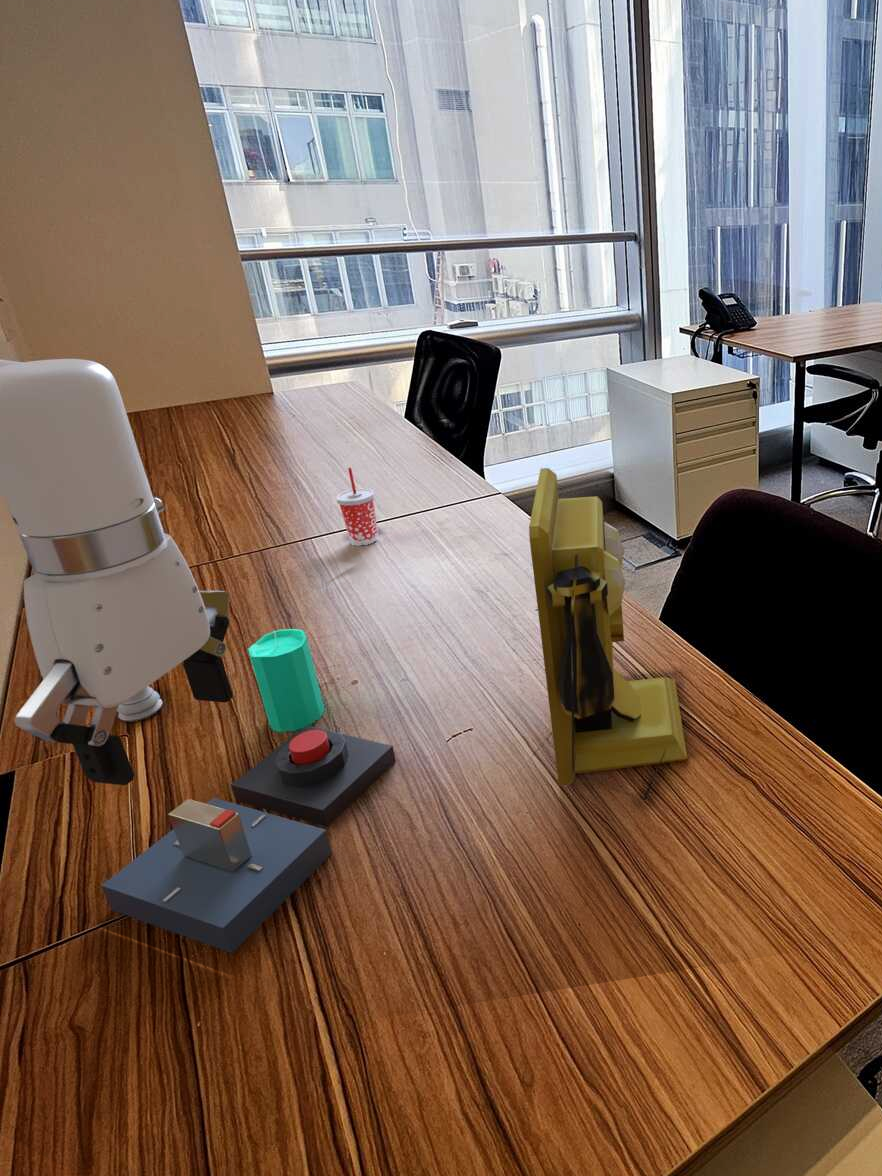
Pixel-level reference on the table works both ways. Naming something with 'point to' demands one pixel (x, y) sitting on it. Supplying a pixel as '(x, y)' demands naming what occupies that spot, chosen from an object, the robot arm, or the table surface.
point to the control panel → (219, 880)
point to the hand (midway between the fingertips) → (167, 737)
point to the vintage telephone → (592, 645)
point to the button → (309, 747)
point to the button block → (315, 778)
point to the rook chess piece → (140, 706)
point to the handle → (210, 834)
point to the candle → (287, 679)
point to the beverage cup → (359, 514)
